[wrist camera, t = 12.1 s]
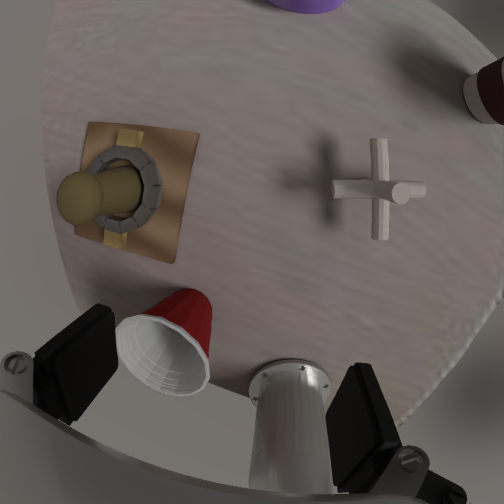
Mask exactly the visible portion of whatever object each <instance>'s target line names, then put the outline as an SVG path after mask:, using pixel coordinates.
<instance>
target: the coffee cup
mask: <svg viewBox="0 0 504 504" xmlns="http://www.w3.org/2000/svg"><path fill="white" fill-rule="evenodd" d="M463 93H464V98H465V101H466V104H467V106H468V108H469V110H470V111H471V113H472V114H473V115H474V117H475V118H476V119H478V120H479V121H480V122H482V123H485V124H501V125H504V57H503V58H501V59H499V60H497V61H495V62H493V63H491V64H489V65H487V66H485V67H483V68H482V69H480V70H479V72H477V73H475V74H474V75H472V76H470V77H468V78H467V79H466V80H465V82H464V86H463Z"/></svg>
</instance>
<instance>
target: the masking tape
mask: <svg viewBox="0 0 504 504" xmlns="http://www.w3.org/2000/svg"><path fill="white" fill-rule="evenodd" d="M268 1H270V2H271V3H272V4H274V5H276V6H278V7H280V8H283V9H285V10H289V11H292V12H297V13H304V14H318V13H324V12H328V11H331V10H334V9H336V8H337V7H339V6H340V5H341V4H342V3H343V2H344V0H268Z"/></svg>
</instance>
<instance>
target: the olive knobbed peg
mask: <svg viewBox="0 0 504 504" xmlns="http://www.w3.org/2000/svg"><path fill="white" fill-rule="evenodd" d="M143 193H144V183H143V180H142V177H141V173H140V171H139V170H138V169H137V168H136V167H133V166H130V165H123V166H119V167H116V168H113V169H109V170H106V171H103V172H100V173H97V174H93V175H92V174H90V173H87V172H75V173H73V174H71V175H69V176H67V177H66V178H65V179H64V180H63V181H62V183H61V184H60V186H59V189H58V192H57V206H58V210H59V212H60V214H61V216H62V217H63V218H64V220H65V221H67V222H69V223H70V224H72V225H84V224H87V223H90V222H91V221H93V220H94V219H95V218H96V217H97V216H98V215H109V214H121V213H130V212H133V211H135V210H136V209H138V208H139V207H140V206H141V204H142V199H143Z"/></svg>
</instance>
